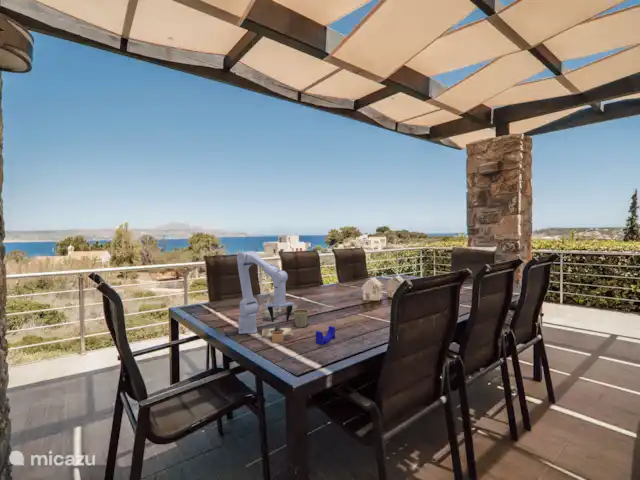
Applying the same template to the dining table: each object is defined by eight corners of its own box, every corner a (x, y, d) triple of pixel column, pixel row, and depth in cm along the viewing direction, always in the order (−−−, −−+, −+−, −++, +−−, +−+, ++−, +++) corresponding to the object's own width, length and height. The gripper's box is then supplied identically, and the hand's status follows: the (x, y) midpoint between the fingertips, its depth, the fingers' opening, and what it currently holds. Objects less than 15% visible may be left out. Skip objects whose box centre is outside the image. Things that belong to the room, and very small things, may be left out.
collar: (272, 342, 164) (272, 334, 163) (272, 339, 169) (272, 331, 169) (283, 342, 164) (283, 334, 164) (282, 338, 170) (282, 330, 170)
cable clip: (322, 345, 161) (322, 333, 161) (315, 343, 164) (315, 331, 163) (337, 339, 170) (337, 327, 170) (330, 337, 173) (330, 326, 173)
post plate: (261, 338, 171) (261, 327, 170) (262, 330, 182) (262, 320, 182) (292, 336, 173) (292, 326, 173) (291, 329, 185) (291, 319, 185)
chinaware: (270, 325, 198) (272, 298, 196) (251, 318, 208) (253, 292, 206) (300, 315, 220) (302, 291, 218) (282, 309, 230) (284, 285, 228)
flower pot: (294, 329, 186) (294, 313, 185) (291, 324, 195) (291, 309, 195) (310, 327, 188) (310, 312, 188) (306, 323, 197) (306, 308, 197)
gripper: (266, 297, 162) (266, 324, 162) (295, 295, 165) (295, 322, 166) (265, 294, 169) (265, 320, 169) (293, 293, 172) (292, 318, 173)
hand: (279, 321), depth 168 cm, fingers open, 7 cm apart
